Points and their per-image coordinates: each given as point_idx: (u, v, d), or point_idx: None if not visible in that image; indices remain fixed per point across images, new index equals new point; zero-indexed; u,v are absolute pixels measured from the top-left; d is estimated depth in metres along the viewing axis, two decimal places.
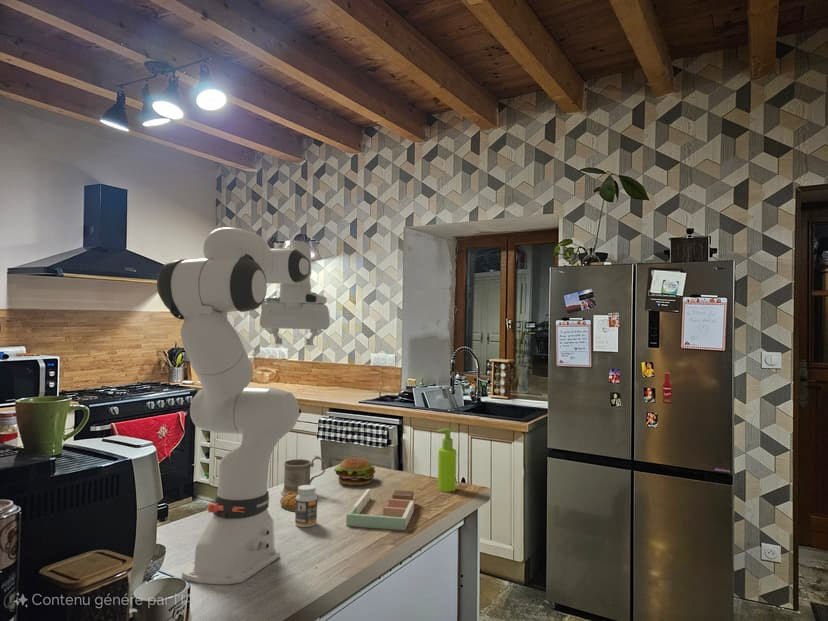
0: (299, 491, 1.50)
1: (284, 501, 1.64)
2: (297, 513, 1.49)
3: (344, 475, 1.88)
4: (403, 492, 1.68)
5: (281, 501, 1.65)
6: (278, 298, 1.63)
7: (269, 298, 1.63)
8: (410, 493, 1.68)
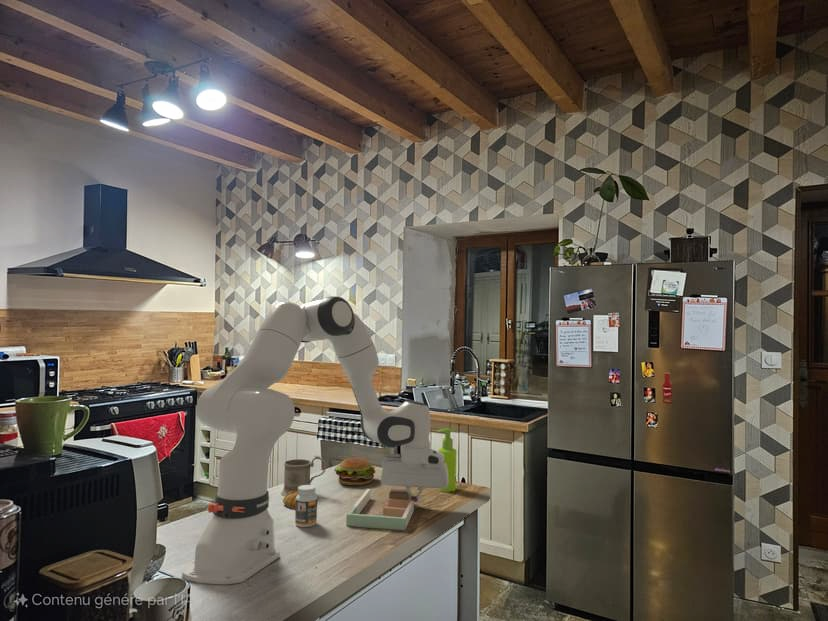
0: (299, 491, 1.50)
1: (287, 500, 1.65)
2: (297, 513, 1.49)
3: (344, 475, 1.88)
4: (399, 491, 1.69)
5: (284, 500, 1.66)
6: (398, 456, 1.68)
7: (389, 455, 1.69)
8: (406, 492, 1.68)
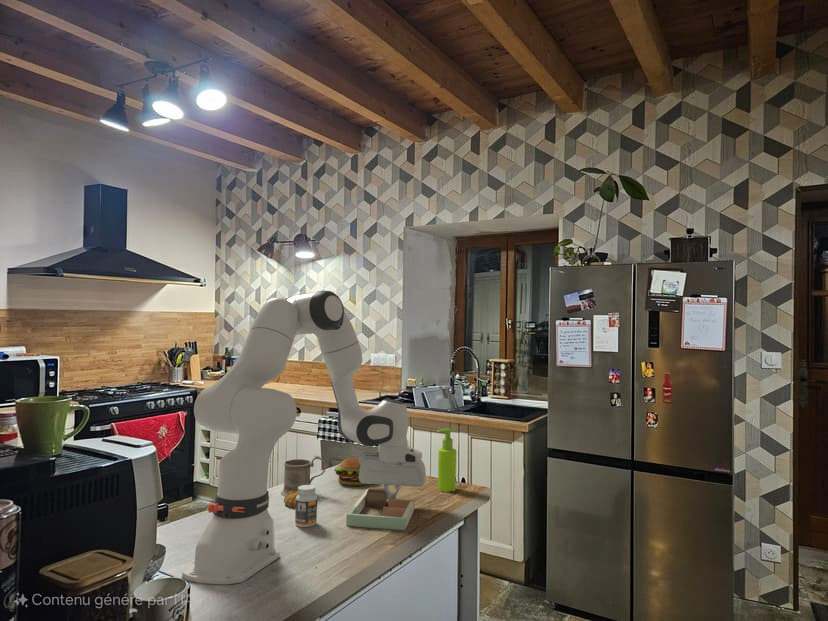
0: (299, 491, 1.50)
1: (288, 500, 1.65)
2: (297, 513, 1.49)
3: (344, 475, 1.88)
4: (377, 490, 1.69)
5: (285, 500, 1.66)
6: (376, 454, 1.70)
7: (367, 453, 1.70)
8: (384, 491, 1.69)
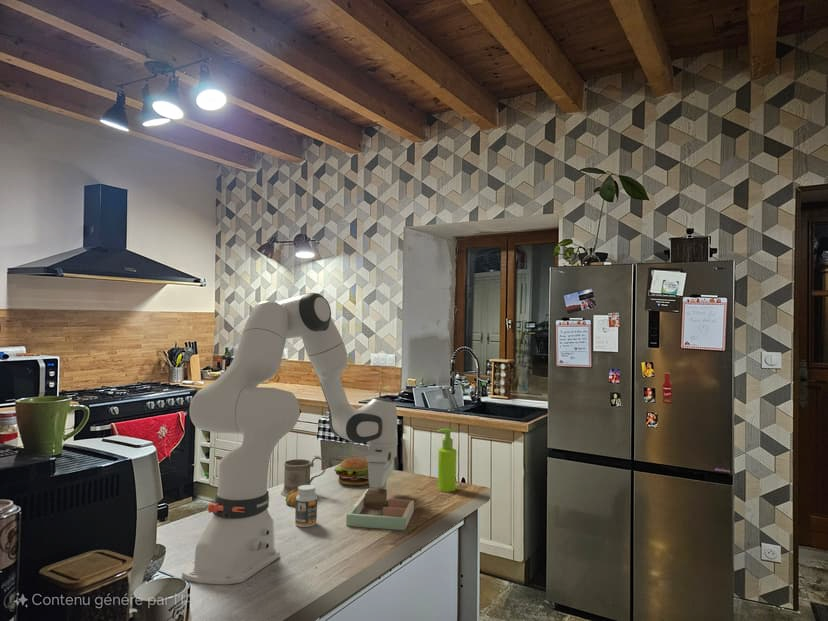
0: (299, 491, 1.50)
1: (290, 499, 1.66)
2: (297, 513, 1.49)
3: (344, 475, 1.88)
4: (376, 491, 1.68)
5: (287, 499, 1.67)
6: None
7: None
8: (383, 492, 1.68)
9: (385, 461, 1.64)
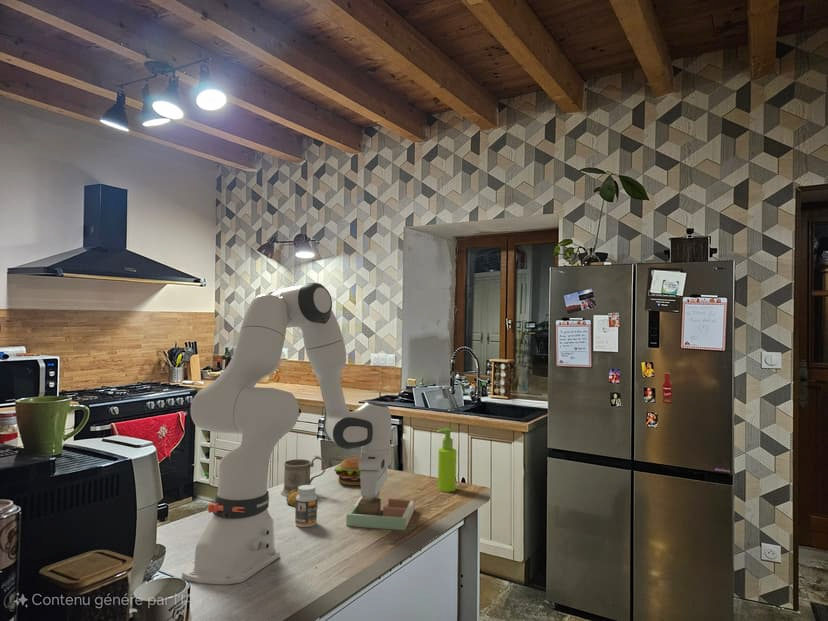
0: (299, 491, 1.50)
1: (291, 498, 1.66)
2: (297, 513, 1.49)
3: (344, 475, 1.88)
4: (369, 501, 1.59)
5: (287, 499, 1.67)
6: None
7: None
8: (377, 501, 1.59)
9: (378, 469, 1.55)
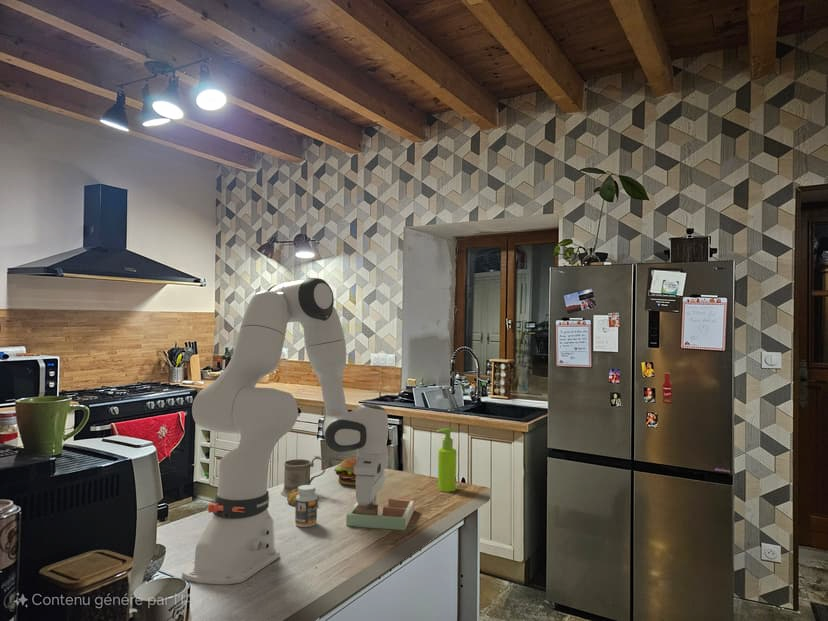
0: (299, 491, 1.50)
1: (292, 498, 1.67)
2: (297, 513, 1.49)
3: (344, 475, 1.88)
4: (367, 507, 1.54)
5: (288, 498, 1.68)
6: None
7: None
8: (374, 508, 1.53)
9: (374, 474, 1.50)
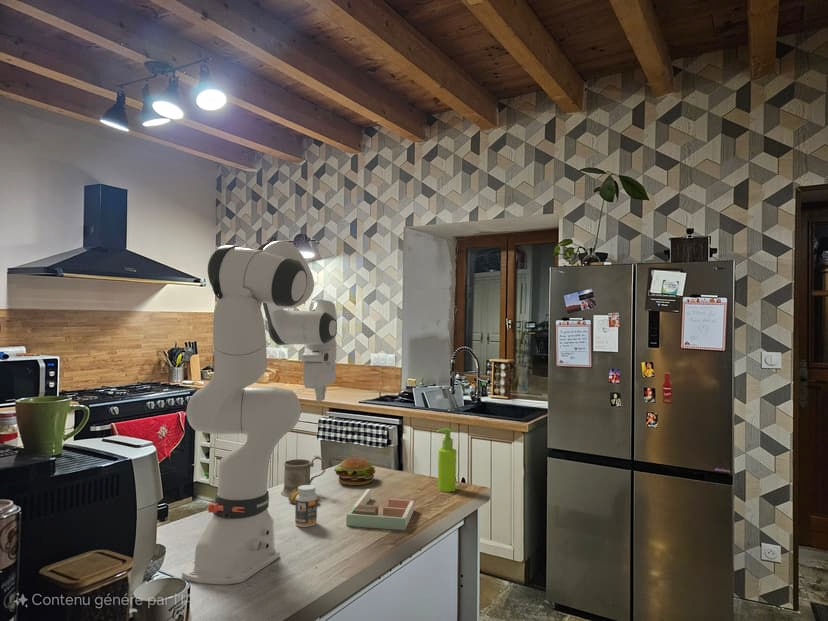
0: (299, 491, 1.50)
1: (294, 497, 1.68)
2: (297, 513, 1.49)
3: (344, 475, 1.88)
4: (367, 508, 1.54)
5: (290, 498, 1.69)
6: None
7: None
8: (374, 509, 1.53)
9: (321, 360, 1.60)
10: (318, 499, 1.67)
